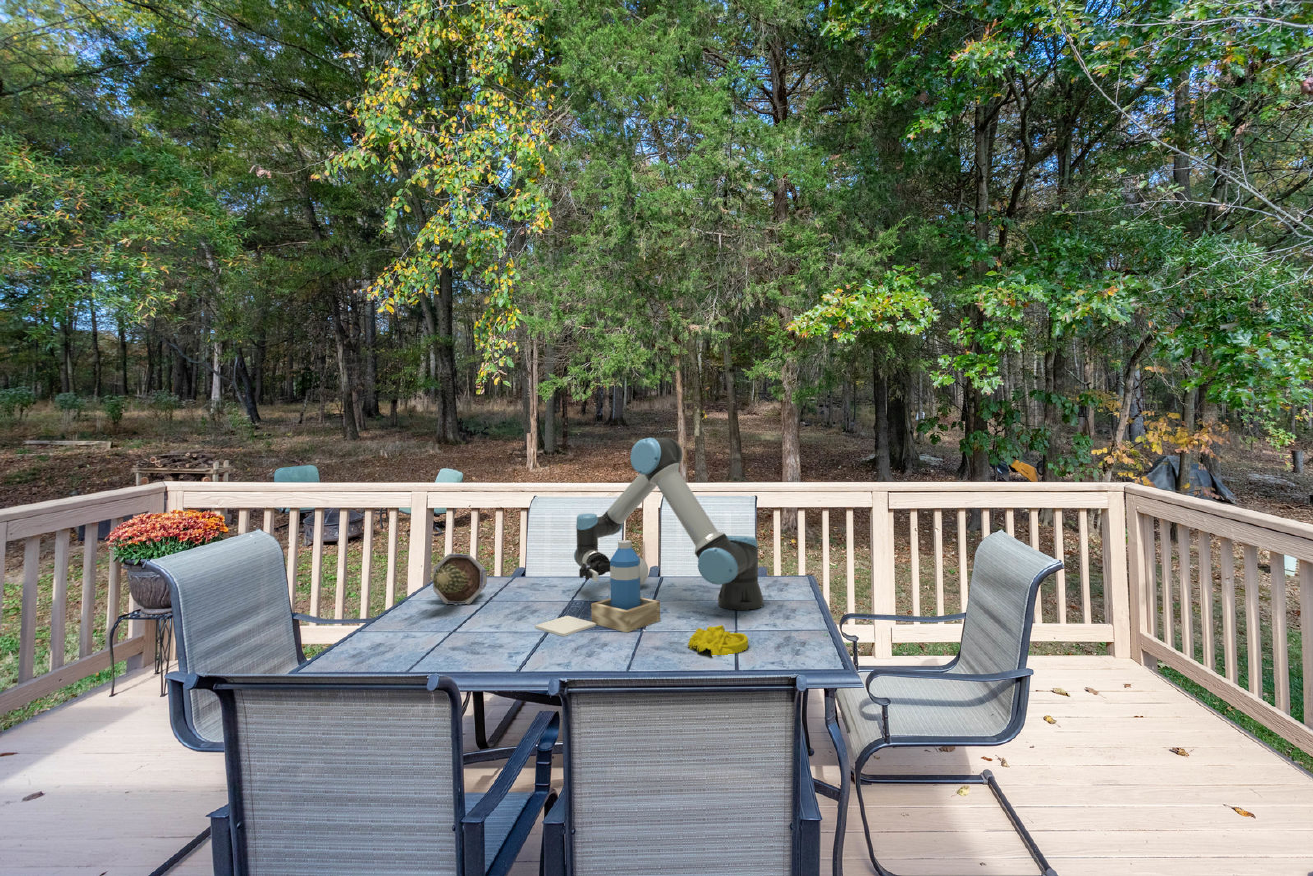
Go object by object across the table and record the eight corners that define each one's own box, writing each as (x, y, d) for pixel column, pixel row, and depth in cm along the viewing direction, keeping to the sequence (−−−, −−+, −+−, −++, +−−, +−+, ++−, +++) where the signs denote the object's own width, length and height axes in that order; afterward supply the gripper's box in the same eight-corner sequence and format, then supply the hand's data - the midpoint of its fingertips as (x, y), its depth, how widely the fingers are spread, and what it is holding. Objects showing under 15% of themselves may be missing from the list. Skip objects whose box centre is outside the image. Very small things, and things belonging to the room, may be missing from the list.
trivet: (596, 625, 199) (595, 623, 199) (563, 636, 189) (563, 633, 189) (567, 618, 208) (567, 615, 208) (534, 628, 198) (534, 625, 198)
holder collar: (660, 620, 203) (659, 601, 203) (626, 632, 192) (626, 612, 192) (625, 612, 213) (624, 593, 213) (591, 623, 202) (591, 603, 202)
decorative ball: (648, 583, 252) (647, 552, 252) (648, 591, 240) (648, 558, 240) (617, 584, 252) (616, 553, 251) (616, 591, 240) (615, 559, 239)
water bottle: (630, 628, 196) (628, 545, 196) (604, 623, 201) (603, 542, 201) (646, 620, 204) (645, 540, 204) (622, 616, 209) (621, 537, 209)
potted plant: (446, 554, 241) (417, 549, 211) (495, 556, 241) (472, 551, 211) (441, 603, 237) (410, 605, 208) (490, 605, 237) (467, 608, 207)
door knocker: (758, 651, 176) (758, 635, 176) (707, 661, 169) (707, 645, 169) (724, 634, 191) (724, 619, 191) (676, 642, 184) (676, 627, 184)
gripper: (629, 569, 232) (653, 582, 212) (561, 577, 222) (579, 591, 202) (629, 548, 232) (653, 559, 212) (560, 555, 222) (579, 567, 202)
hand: (617, 575), depth 207 cm, fingers open, 13 cm apart
